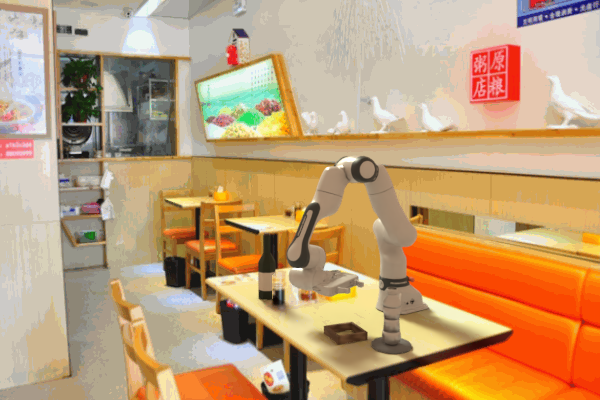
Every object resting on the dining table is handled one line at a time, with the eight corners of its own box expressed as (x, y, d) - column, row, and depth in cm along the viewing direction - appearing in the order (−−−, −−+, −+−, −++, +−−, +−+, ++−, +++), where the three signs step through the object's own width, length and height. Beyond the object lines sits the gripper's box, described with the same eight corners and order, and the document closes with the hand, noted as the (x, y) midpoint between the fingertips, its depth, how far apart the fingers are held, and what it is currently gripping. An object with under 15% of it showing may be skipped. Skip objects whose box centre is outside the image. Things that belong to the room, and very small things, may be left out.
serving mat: (397, 336, 198) (397, 334, 198) (419, 350, 186) (419, 348, 185) (364, 341, 193) (364, 339, 193) (384, 356, 180) (384, 354, 180)
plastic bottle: (401, 347, 186) (402, 291, 183) (381, 346, 187) (382, 290, 184) (400, 340, 192) (402, 286, 190) (381, 339, 193) (382, 285, 191)
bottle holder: (352, 329, 206) (352, 321, 205) (367, 340, 195) (367, 332, 194) (323, 333, 201) (323, 325, 201) (337, 344, 190) (337, 336, 190)
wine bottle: (261, 301, 241) (261, 235, 237) (255, 296, 248) (254, 232, 245) (278, 298, 244) (278, 233, 241) (272, 293, 252) (272, 230, 248)
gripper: (309, 280, 198) (341, 286, 190) (339, 268, 214) (370, 273, 206) (309, 297, 199) (341, 303, 191) (339, 284, 215) (370, 289, 207)
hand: (356, 288), depth 198 cm, fingers open, 8 cm apart
